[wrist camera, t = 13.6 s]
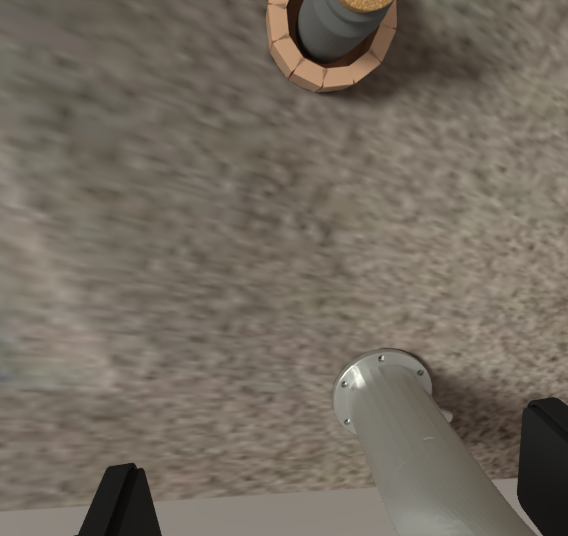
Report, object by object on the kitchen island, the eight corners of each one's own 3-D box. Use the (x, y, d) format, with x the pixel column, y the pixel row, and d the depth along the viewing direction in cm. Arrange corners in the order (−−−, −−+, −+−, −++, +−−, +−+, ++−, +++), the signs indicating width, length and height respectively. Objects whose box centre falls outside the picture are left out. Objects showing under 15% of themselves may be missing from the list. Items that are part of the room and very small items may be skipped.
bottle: (305, 73, 40) (338, 34, 26) (286, 7, 38) (310, -74, 24) (362, 52, 40) (427, 2, 26) (345, -14, 38) (405, -109, 24)
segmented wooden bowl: (398, -1, 39) (418, -20, 35) (349, 111, 42) (361, 107, 37) (294, -60, 37) (301, -88, 33) (249, 62, 40) (249, 51, 35)
